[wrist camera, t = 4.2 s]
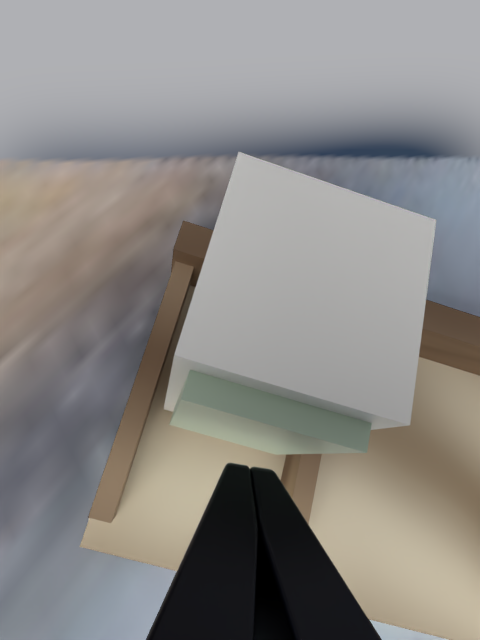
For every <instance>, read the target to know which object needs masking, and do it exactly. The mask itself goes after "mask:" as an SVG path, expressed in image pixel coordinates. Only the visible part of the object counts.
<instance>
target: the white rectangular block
mask: <svg viewBox="0 0 480 640" xmlns="http://www.w3.org/2000/svg"><path fill="white" fill-rule="evenodd" d="M435 227H436V220H435V219H432V218H430V217H427V216H424V215H421V214H418V213H415V212H412V211H409V210H406V209H403V208H400V207H398V206H395V205H392V204H389V203H386V202H383V201H380V200H377V199H374V198H371V197H369V196H366V195H363V194H360V193H357V192H354V191H351V190H348V189H345V188H342V187H340V186H337V185H334V184H331V183H328V182H325V181H322V180H319V179H316V178H313V177H311V176H308V175H305V174H302V173H299V172H296V171H293V170H290V169H287V168H284V167H282V166H279V165H276V164H273V163H270V162H267V161H264V160H261V159H258V158H255V157H252V156H250V155H247V154H243V153H241V152H238V155H237V158H236V162H235V165H234V168H233V171H232V174H231V177H230V180H229V184H228V187H227V190H226V193H225V196H224V199H223V203H222V206H221V209H220V212H219V215H218V218H217V221H216V225H215V228H214V231H213V234H212V237H211V240H210V244H209V247H208V250H207V253H206V256H205V259H204V262H203V266H202V269H201V272H200V275H199V278H198V281H197V284H196V288H195V291H194V294H193V297H192V300H191V303H190V307H189V310H188V313H187V316H186V319H185V322H184V325H183V329H182V332H181V335H180V338H179V341H178V344H177V348H176V351H175V354H174V358H173V363H172V368H171V373H170V378H169V384H168V389H167V394H166V399H165V404H164V410H168V411H171V412H173V414H172V417H171V420H170V424H169V425H172V426H175V427H179V428H183V429H186V430H190V431H193V432H197V433H200V434H204V435H207V436H211V437H215V438H218V439H222V440H225V441H229V442H232V443H236V444H239V445H243V446H246V447H250V448H254V449H257V450H261V451H264V452H268V453H271V454H275V455H283V454H335V453H367V450H368V443H369V437H370V431H371V430H375V429H384V428H392V427H400V426H408V425H410V421H411V413H412V406H413V398H414V390H415V382H416V375H417V367H418V359H419V351H420V344H421V336H422V328H423V320H424V313H425V305H426V297H427V289H428V281H429V274H430V266H431V258H432V250H433V243H434V235H435Z"/></svg>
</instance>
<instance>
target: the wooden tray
mask: <svg viewBox="0 0 480 640" xmlns="http://www.w3.org/2000/svg"><path fill="white" fill-rule="evenodd" d="M213 231H214V230H211V229H208V228H205V227H202V226H199V225H195V224H192V223H189V222H186V221H183V223H182V226H181V229H180V232H179V234H178V237H177V240H176V243H175V246H174V249H173V259H172V270H171V276H170V279H169V282H168V285H167V288H166V290H165V293H164V296H163V299H162V302H161V305H160V308H159V311H158V314H157V317H156V320H155V323H154V326H153V329H152V332H151V334H150V337H149V340H148V343H147V346H146V349H145V352H144V355H143V358H142V361H141V364H140V367H139V370H138V373H137V376H136V378H135V381H134V384H133V387H132V390H131V393H130V396H129V399H128V402H127V405H126V408H125V411H124V414H123V417H122V420H121V422H120V425H119V428H118V431H117V434H116V437H115V440H114V443H113V446H112V449H111V452H110V455H109V458H108V461H107V463H106V466H105V469H104V472H103V475H102V478H101V481H100V484H99V487H98V490H97V493H96V496H95V499H94V502H93V505H92V507H91V510H90V513H89V516H88V518H89V521H88V524H87V527H86V530H85V533H84V536H83V539H82V541H81V544H80V547H83V548H87V549H91V550H95V551H99V552H103V553H107V554H111V555H115V556H119V557H123V558H127V559H131V560H135V561H139V562H143V563H147V564H151V565H155V566H159V567H163V568H167V569H170V570H174V571H177V570H178V568H179V566H180V564H181V561H182V559H183V557H184V555H185V553H186V550H187V548H188V546H189V544H190V542H191V539H192V537H193V535H194V533H195V531H196V528H197V526H198V524H199V522H200V520H201V518H202V515H203V513H204V511H205V509H206V507H207V504H208V502H209V500H210V498H211V496H212V493H213V491H214V489H215V487H216V485H217V482H218V480H219V478H220V476H221V474H222V471H223V469H224V467H225V465H226V464H227V463H235V464H242V465H247V466H248V467H249V468H251V467H260V468H266V469H271V470H273V471H274V472H275V473H276V474H277V476H278V477H279V479H280V480H281V482H282V484H283V485H284V487H285V488H286V490H287V491H288V493H289V495H290V496H291V498H292V499H293V501H294V502H295V504H296V506H297V507H298V509H299V510H300V512H301V514H302V515H303V517H304V518H305V520H306V521H307V523H308V525H309V526H310V528H311V529H312V531H313V532H314V534H315V536H316V537H317V539H318V540H319V542H320V543H321V545H322V547H323V548H324V550H325V551H326V553H327V554H328V556H329V558H330V559H331V561H332V562H333V564H334V565H335V567H336V569H337V570H338V572H339V573H340V575H341V577H342V578H343V580H344V581H345V583H346V584H347V586H348V588H349V589H350V591H351V592H352V594H353V595H354V597H355V599H356V600H357V602H358V603H359V605H360V606H361V608H362V610H363V611H364V613H365V614H366V616H367V617H368V619H370V620H374V621H378V622H382V623H386V624H389V625H393V626H397V627H401V628H405V629H409V630H413V631H417V632H421V633H425V634H429V635H433V636H437V637H441V638H445V639H449V640H480V317H478V316H475V315H472V314H469V313H465V312H462V311H459V310H456V309H453V308H450V307H447V306H444V305H441V304H438V303H435V302H432V301H429V300H426V305H425V313H424V320H423V328H422V336H421V344H420V351H419V359H418V367H417V375H416V382H415V390H414V398H413V406H412V413H411V421H410V425H408V426H400V427H392V428H384V429H375V430H371V431H370V437H369V443H368V450H367V453H335V454H283V455H275V454H271V453H268V452H264V451H261V450H257V449H254V448H250V447H246V446H243V445H239V444H236V443H232V442H229V441H225V440H222V439H218V438H215V437H211V436H207V435H204V434H200V433H197V432H193V431H190V430H186V429H183V428H179V427H175V426H172V425H169V424H170V420H171V417H172V414H173V412H171V411H168V410H164V404H165V399H166V394H167V389H168V384H169V378H170V373H171V368H172V363H173V358H174V354H175V351H176V348H177V344H178V341H179V338H180V335H181V332H182V329H183V325H184V322H185V319H186V316H187V313H188V310H189V307H190V303H191V300H192V297H193V294H194V291H195V288H196V284H197V281H198V278H199V275H200V272H201V269H202V266H203V262H204V259H205V256H206V253H207V250H208V247H209V244H210V240H211V237H212V234H213Z"/></svg>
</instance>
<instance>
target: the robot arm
mask: <svg viewBox="0 0 480 640" xmlns="http://www.w3.org/2000/svg"><path fill="white" fill-rule="evenodd" d="M146 640H381V638H380V636H379V635H378V633H377V632H376V630H375V629H374V627H373V625H372V624H371V622H370V621H369V619H368V617H367V616H366V614H365V613H364V611H363V610H362V608H361V606H360V605H359V603H358V602H357V600H356V599H355V597H354V595H353V594H352V592H351V591H350V589H349V588H348V586H347V584H346V583H345V581H344V580H343V578H342V577H341V575H340V573H339V572H338V570H337V569H336V567H335V565H334V564H333V562H332V561H331V559H330V558H329V556H328V554H327V553H326V551H325V550H324V548H323V547H322V545H321V543H320V542H319V540H318V539H317V537H316V536H315V534H314V532H313V531H312V529H311V528H310V526H309V525H308V523H307V521H306V520H305V518H304V517H303V515H302V514H301V512H300V510H299V509H298V507H297V506H296V504H295V502H294V501H293V499H292V498H291V496H290V495H289V493H288V491H287V490H286V488H285V487H284V485H283V484H282V482H281V480H280V479H279V477H278V476H277V474H276V473H275V472H274V471H273V470H271V469H266V468H260V467H251V468H249V467H248V466H247V465H242V464H235V463H227V464H226V465H225V467H224V469H223V471H222V474H221V476H220V478H219V480H218V482H217V485H216V487H215V489H214V491H213V493H212V496H211V498H210V500H209V502H208V504H207V507H206V509H205V511H204V513H203V515H202V518H201V520H200V522H199V524H198V526H197V528H196V531H195V533H194V535H193V537H192V539H191V542H190V544H189V546H188V548H187V550H186V553H185V555H184V557H183V559H182V561H181V564H180V566H179V568H178V570H177V572H176V575H175V577H174V579H173V581H172V583H171V586H170V588H169V590H168V592H167V594H166V596H165V599H164V601H163V603H162V605H161V607H160V610H159V612H158V614H157V616H156V618H155V621H154V623H153V625H152V627H151V629H150V632H149V634H148V636H147V638H146Z"/></svg>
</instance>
